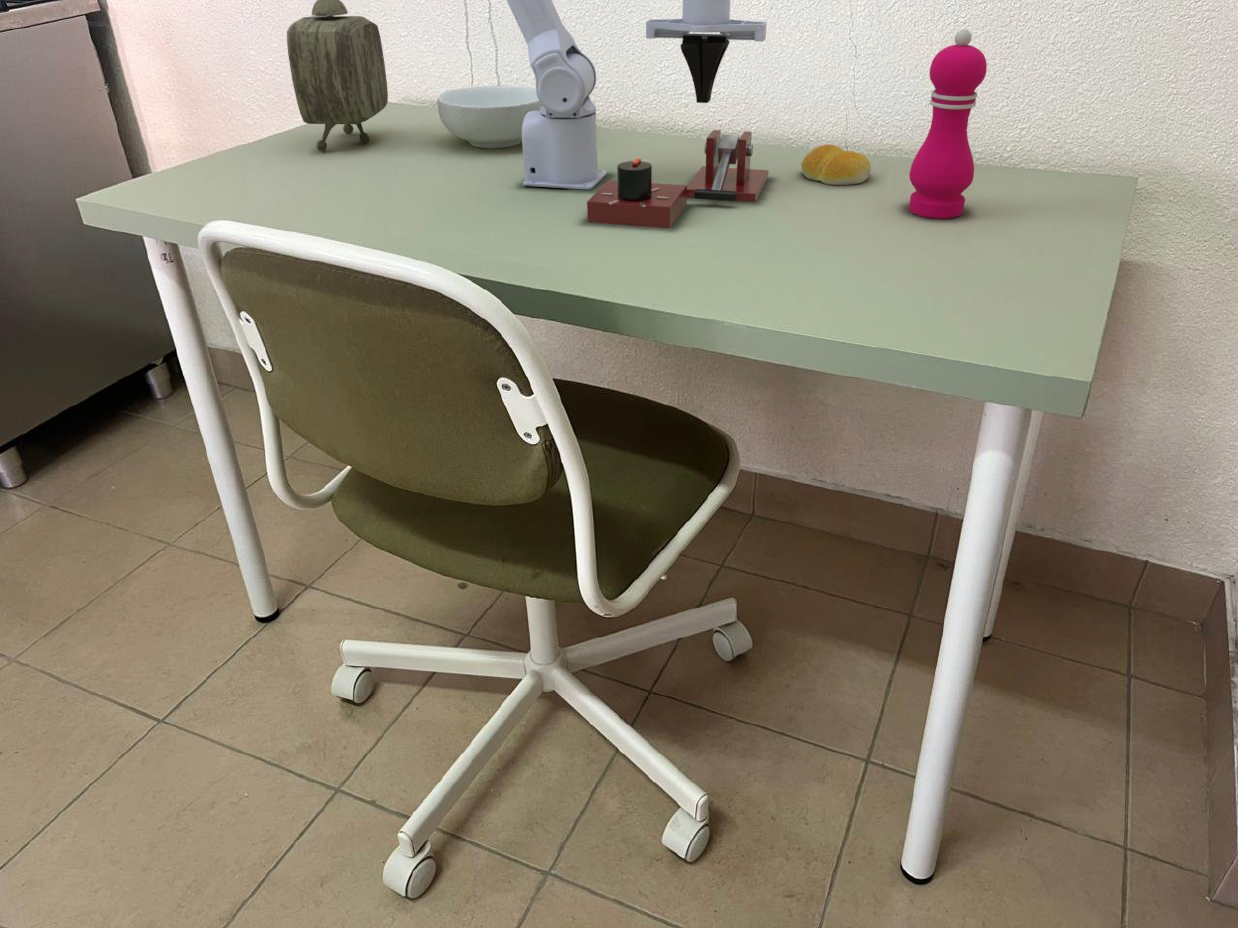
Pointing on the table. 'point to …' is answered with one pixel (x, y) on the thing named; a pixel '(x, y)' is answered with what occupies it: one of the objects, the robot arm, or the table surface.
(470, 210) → the table surface
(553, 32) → the robot arm
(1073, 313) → the table surface
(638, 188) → the knob
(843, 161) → the bread roll
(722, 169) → the toaster lever
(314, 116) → the tabletop clock
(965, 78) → the pepper mill
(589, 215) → the panel
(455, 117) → the cereal bowl
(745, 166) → the red lever base
